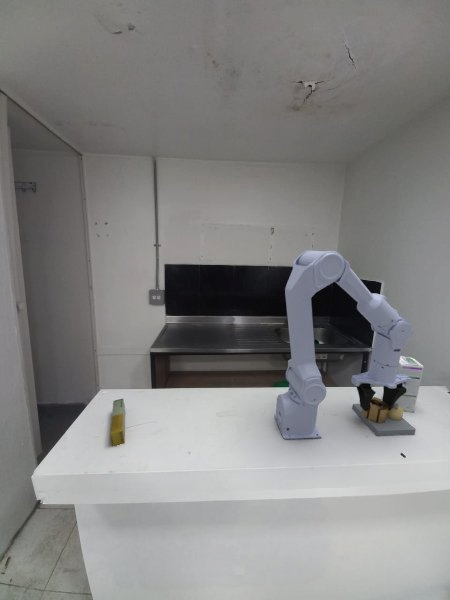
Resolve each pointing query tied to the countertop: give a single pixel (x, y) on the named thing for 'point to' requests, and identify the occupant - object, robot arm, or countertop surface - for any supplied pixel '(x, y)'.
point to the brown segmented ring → (376, 411)
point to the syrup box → (415, 373)
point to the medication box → (118, 423)
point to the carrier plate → (388, 422)
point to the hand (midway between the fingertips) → (375, 408)
